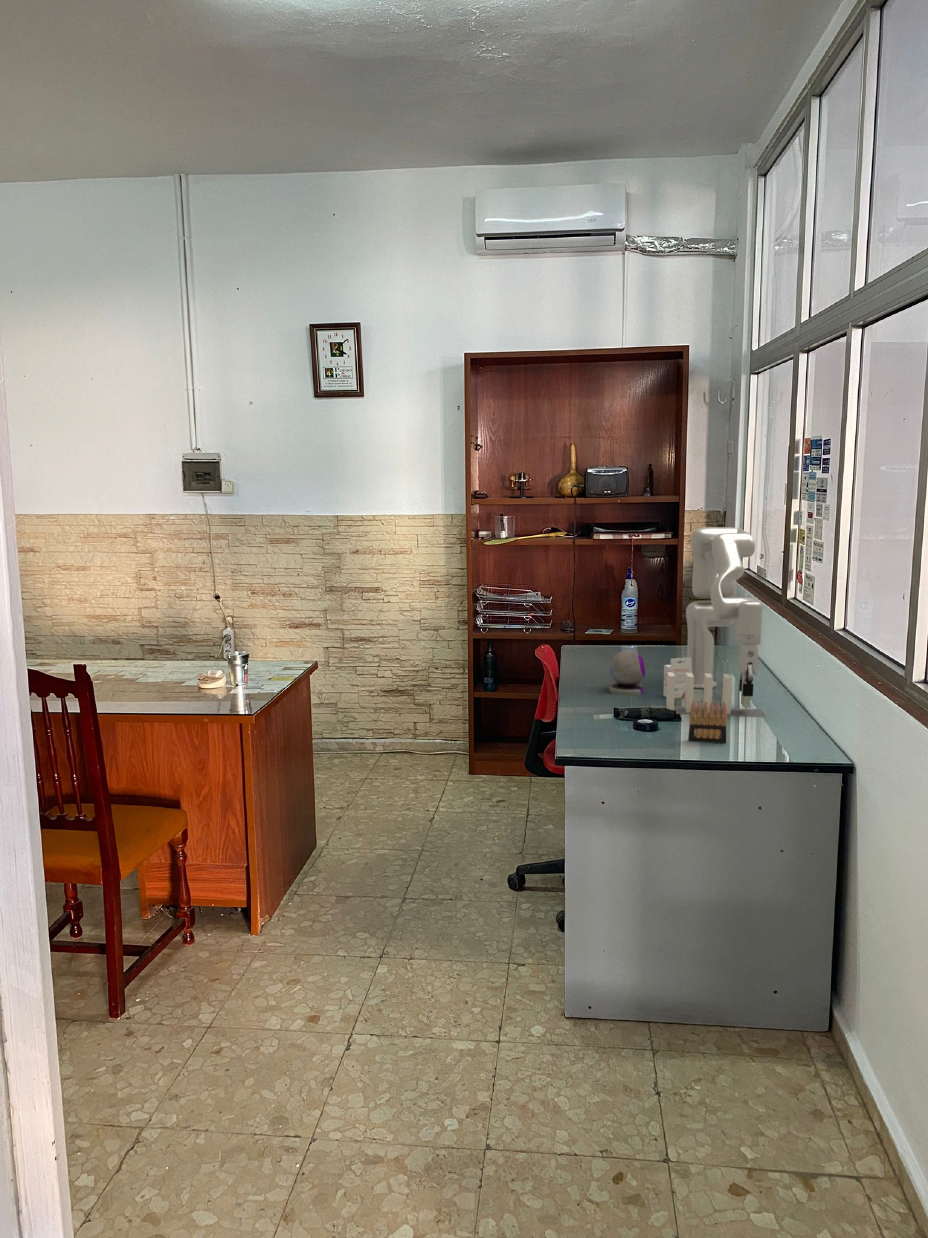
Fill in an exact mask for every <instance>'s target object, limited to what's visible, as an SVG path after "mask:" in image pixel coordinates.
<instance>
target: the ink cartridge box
mask: <svg viewBox="0 0 928 1238" xmlns="http://www.w3.org/2000/svg"><path fill="white" fill-rule="evenodd" d="M691 665H692V663H691V658H687V657H679V658H677V657H676V658H670V664H663V695H662V696H664V697H667V672H674V675H675V693H674V699H685V683H686V673H692V666H691Z"/></svg>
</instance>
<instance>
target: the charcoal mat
mask: <svg viewBox="0 0 928 1238" xmlns="http://www.w3.org/2000/svg"><path fill="white" fill-rule="evenodd" d="M651 708H666V705H650V709H651ZM674 710H675V711H676V714H675V715H690V713H686V711H685V706H680V705H679V706H675V705H674ZM715 713H716V707H714V716H715ZM696 714H697V706H695V715H696ZM701 714H702V716H703V706H701ZM721 715H722V707H720V716H721ZM708 716H709V713H708ZM726 716H728V717H751V718H767V715H766V714H765V713H764V711H763V710H762V709H760V708H759V709H757V708H735V707H733V708H732V707H731V714H726Z"/></svg>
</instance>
